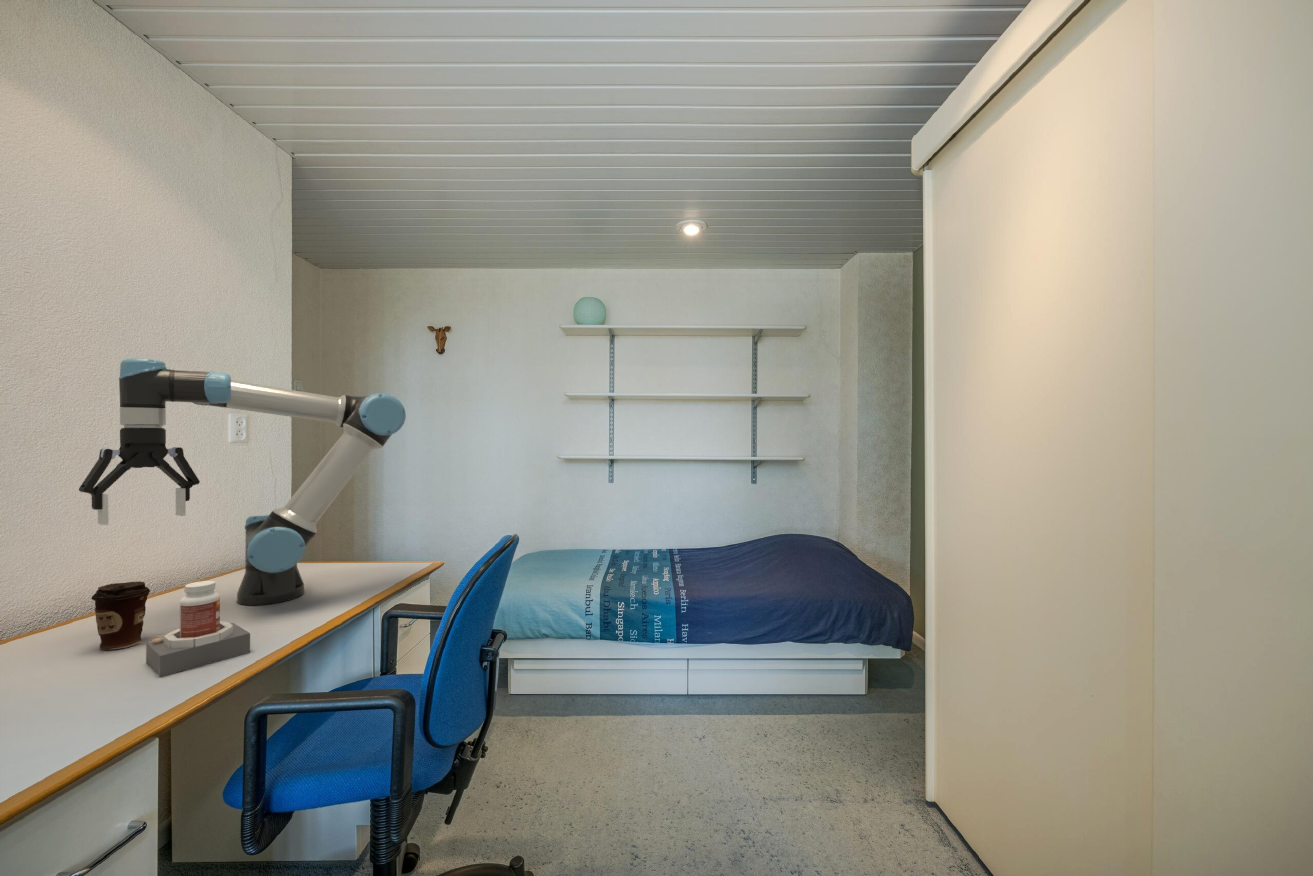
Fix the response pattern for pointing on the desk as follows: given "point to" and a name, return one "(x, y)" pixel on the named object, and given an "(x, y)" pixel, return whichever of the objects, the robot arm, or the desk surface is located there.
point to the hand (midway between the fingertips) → (143, 519)
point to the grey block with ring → (195, 649)
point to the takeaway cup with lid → (120, 614)
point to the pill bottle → (199, 610)
